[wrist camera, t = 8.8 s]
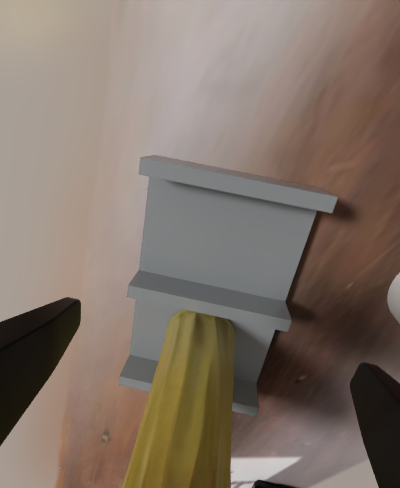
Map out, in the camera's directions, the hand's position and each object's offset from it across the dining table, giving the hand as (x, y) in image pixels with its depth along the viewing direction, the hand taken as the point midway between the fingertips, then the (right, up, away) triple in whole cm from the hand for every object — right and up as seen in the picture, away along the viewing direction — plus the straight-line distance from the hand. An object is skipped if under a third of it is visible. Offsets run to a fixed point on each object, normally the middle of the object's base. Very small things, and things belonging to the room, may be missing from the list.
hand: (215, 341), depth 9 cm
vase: (0, -5, +15) cm, 16 cm away
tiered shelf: (0, 0, +14) cm, 14 cm away
